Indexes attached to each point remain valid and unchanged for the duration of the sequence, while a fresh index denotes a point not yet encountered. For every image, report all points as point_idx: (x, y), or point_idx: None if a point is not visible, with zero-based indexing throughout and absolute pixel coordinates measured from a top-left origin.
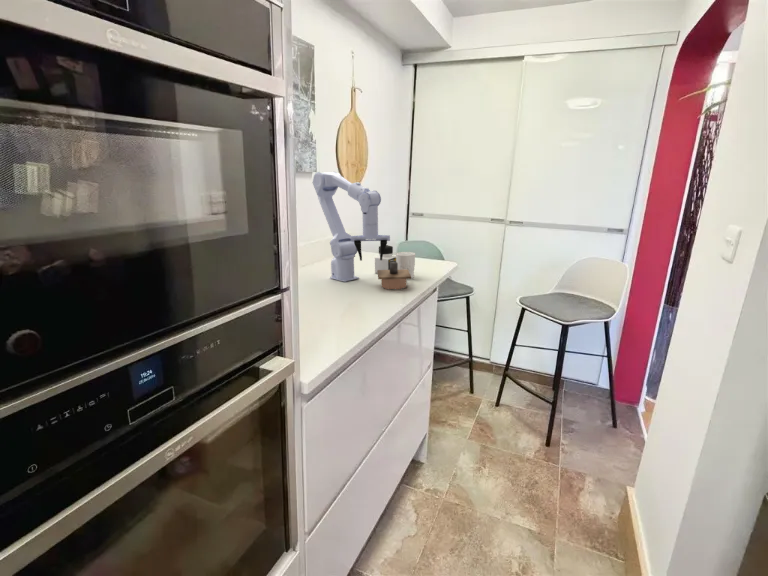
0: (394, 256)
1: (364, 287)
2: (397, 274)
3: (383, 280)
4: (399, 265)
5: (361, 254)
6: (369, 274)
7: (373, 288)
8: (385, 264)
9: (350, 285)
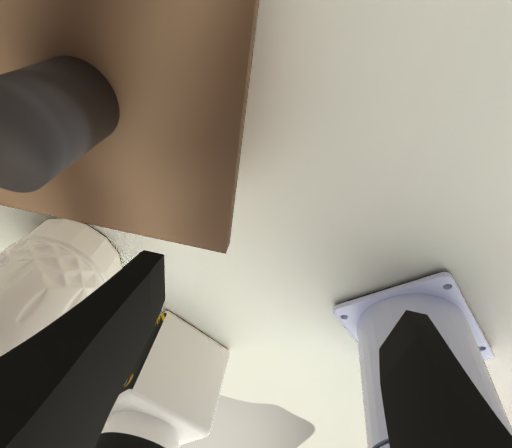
0: None
1: (369, 105)
2: (30, 25)
3: None
4: (60, 295)
5: (408, 405)
6: (259, 345)
7: (307, 51)
8: (162, 368)
9: (448, 190)
